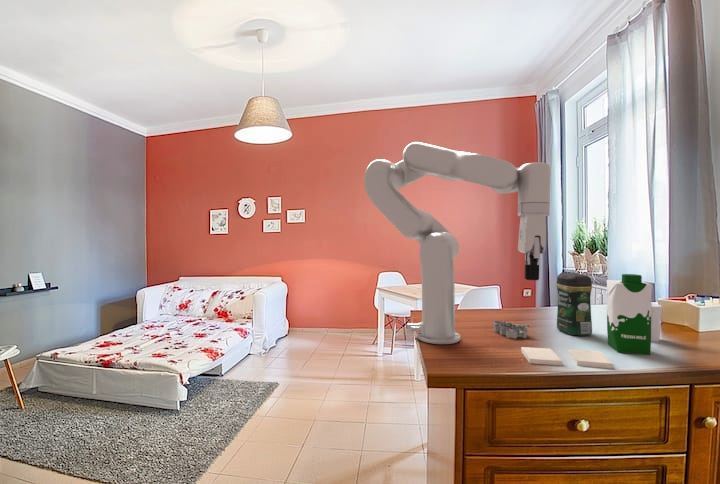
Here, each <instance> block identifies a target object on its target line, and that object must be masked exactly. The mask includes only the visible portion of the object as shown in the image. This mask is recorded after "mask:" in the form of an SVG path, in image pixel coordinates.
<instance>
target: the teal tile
mask: <svg viewBox="0 0 720 484" xmlns="http://www.w3.org/2000/svg"><path fill="white" fill-rule="evenodd" d="M520 349H521V350H520V351H521V352H522V354H523V356H524V358H525V359H526V360H527V362H528V363H529V364H537V365H549V366H550V365H551V366H563V360H562V359H561V358H560V357H559V356H558V355H557V354H556V353H555V352H554V351H553V350H552V349H551V348H546V347H543V348H542V347H529V346H528V347H527V346H526V347H525V346H521V348H520Z"/></svg>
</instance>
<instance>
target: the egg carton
mask: <svg viewBox="0 0 720 484" xmlns="http://www.w3.org/2000/svg"><path fill="white" fill-rule="evenodd" d="M492 323H493V332H494V333H499V334H500V335H501V336H505V337H506V338H510V339H513V340H514V339H518V338H523V339H526V338H527V337H528V328H530V325H529V324H526V323H524V324H520V323H519V324H518V323H517V324H516V323H512V322H511V321H507V322H506V321H505V320H503V321H502V320H493V319H492Z"/></svg>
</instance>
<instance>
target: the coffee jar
mask: <svg viewBox="0 0 720 484" xmlns="http://www.w3.org/2000/svg"><path fill="white" fill-rule="evenodd" d="M556 290H557V314H556V328H557V329H558V330H559V331H561V332H563V333H564V334H565V333H566V334H568V335H571V336H579V337H588V336H589V335H592V334H593V321H592V320H593V319H592V308H591V307H592V305H591V296H592V290H593V282H592V278H591V277H590V276H589V275H585V274H580V273H574V272H561V273H559V274H558V275H557V277H556Z"/></svg>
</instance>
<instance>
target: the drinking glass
mask: <svg viewBox="0 0 720 484" xmlns="http://www.w3.org/2000/svg"><path fill="white" fill-rule="evenodd" d="M661 319H662V305H661V304H658V303H652V302H651V343H652V342H653V343H654V342H659V341H661V340H660V339H661V321H662V320H661Z"/></svg>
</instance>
